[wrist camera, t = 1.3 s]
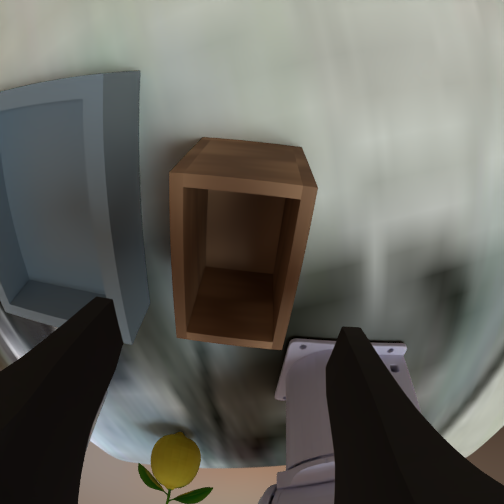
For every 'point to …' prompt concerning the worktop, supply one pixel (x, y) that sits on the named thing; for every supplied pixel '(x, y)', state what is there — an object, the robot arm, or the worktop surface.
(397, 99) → the worktop surface
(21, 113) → the slate crate
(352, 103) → the worktop surface
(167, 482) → the lemon
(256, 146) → the walnut crate
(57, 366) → the robot arm
